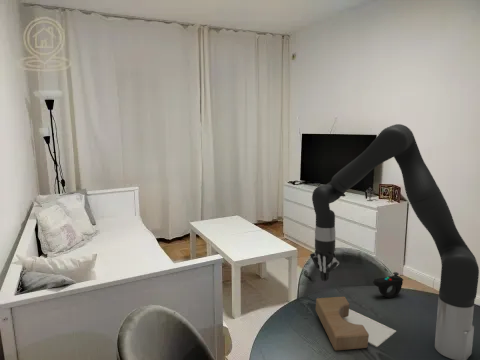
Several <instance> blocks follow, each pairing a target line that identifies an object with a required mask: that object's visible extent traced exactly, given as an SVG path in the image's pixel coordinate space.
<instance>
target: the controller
mask: <svg viewBox="0 0 480 360" xmlns="http://www.w3.org/2000/svg"><path fill="white" fill-rule="evenodd" d="M392 273H393V275H391V276H386V277H379V278H375V279H374V280H373V282H372V283H373V285H374V286H376V287H378V288H377V289H378V291H379V293H380V294H381V295H382V296H384V297H386V298H388V299H389V298H391V299H392V298H395V297H397V296H398V295H399V294H400V292H401V290H402V287H403V283H404V282H403V281H404V279H403V277H401V276H399V275H400V273H399V272H396V271H394V272H392ZM390 287H391V290H390V291H388V289H389V288H390Z"/></svg>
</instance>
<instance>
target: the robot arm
mask: <svg viewBox="0 0 480 360" xmlns="http://www.w3.org/2000/svg"><path fill="white" fill-rule="evenodd" d="M392 158H394V160H395V161H396V163H397V165H398V168H399V170H400V172H401V176H402V181H403V185H404V191H405V194H406V197H407V199H408V202H409V204H410V206H411V208H412V210H413V212H414V214H415V216H416V217H417V219H418V220H419V222H420V223H421V224H422V226H423V227H424V228H425V229H426V231H427V232H428V233H429V234H430V236H431V237H432V239H433V242H434V244H435V247H436V249H437V251H438V254H439V256H440V257H439V258H440V261H441V263H440V264H441V271H440V272H441V273H440V282H439V283H440V284H439V289H438V298H437V299H438V300H437V314H436V324H435V325H436V327H435V336H434V337H435V339H434V349H435V350H436V351H437V352H438V353H439V354H440V355H441V356H443V357H446V358H448V359H451V360H468V359H469V357H471V355H472V354H473V352H472V351H473V344H474V332H475V331H474V330H475V325H473V318H474V309H475V301H476V297H477V294H478V285H479V276H480V270H479V269H480V268H479V264H478V262H477V259H476V257H475V255H474V253H473V252H472V251H471V249H470V248H469V246H468V245H467V243H466V242H465V240H464V239H463V237H462V235H461V234H460V232H459V230H458V229H457V227H456V224H455V221H454V219H453V216H452V213H451V210H450V208H449V207H450V206H449V205H448V203H447V201H446V199H445V197H444V195H443V192H442V190H441V189H440V187H439V185H438V184H437V182H436V180H435V179H434V176H433V175H432V173H431V171H430V170H429V168H428V166H427V164H426V162H425V161H424V159H423V156H422V154H421V152H420V149H419V146H418V144H417V140H416V137H415V135H414V133H413V131H412V130H411V129H410V128H409V127H408V126H406V125H404V124H401V123H399V124H397V123H396V124H393V125H390V126H387V127H386V128H384V129H383V130H381V131H380V132H379V133H378V135H377V136H376V137H375V139H373V141H372V142H371V143H370V144H369V146H367V147H366V148H365V150H363V151H362V153H360V154H359V155H358V156H356V158H354V159H352V160H351V162H349V163H347V164H346V165H345V166H343V167H342V168H341V169H340V170H338V171H337V173H335V174H334V175H333V176H332V177H331V180H330V181H329V182H328V183H326V184H323V185H320V186H317V187H315V188H314V189H313V191H312V194H311V195H312V196H311V200H312V201H311V202H312V205H313V209H314V214H315V228H314V229H315V230H314V252H312V253H310V255H309V256H310V258H311V260H312V262H313V264H314V266H315V268H316V269H318V270H319V271H320V279H321V281H322V282H327V281H329V279H330V278H329V277H330V273H332V272H334V271H335V270H336V268H338V266H339V265H340V264H341V261H340V260H337V258H336V254H335V250H336V227H335V226H336V214H335V211H334V210H332V209H331V206H330V204H331V203H335V202H336V201H337V200H339V199H340V198H341V197H342V196H343V195H344V194H345V193H346V192H347V191H348V190H350V189H351V188H353V187H354V186H355V185H357V184H358V183H360V182H361V180H363V179H364V178H365V177H366V176H367V175H368V174H369V173H371V172H372V170H374V169H375V168H376V167H378V166H379V165H381V164H383V163H384V162H387V161H388V160H390V159H392Z"/></svg>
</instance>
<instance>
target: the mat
mask: <svg viewBox="0 0 480 360" xmlns="http://www.w3.org/2000/svg"><path fill="white" fill-rule="evenodd" d="M343 319H344V320H346V321H348V322H350V323H353V324H358V325H363V326H364V328H365V329H366V331H367V332H368V334H369V338H368V344H370V345H371V346H373V347H376V348H378V347H379V346H380V345H382V344H383V343H384V342H386V341H387V340H389V338H391V337H392V336H393V335H394V334H395V333H397V330H395V329H394V328H391V327H389V326H387V325H384V324H383V323H380V322H378V321H376V320H375V319H372V318H369V317H368V316H365V315H363V314H362V313H358V312H357V311H355V310H352V309H350V308H349V315H348V316H347V317H343Z"/></svg>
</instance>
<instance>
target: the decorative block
mask: <svg viewBox="0 0 480 360" xmlns="http://www.w3.org/2000/svg"><path fill="white" fill-rule="evenodd" d="M349 309H350V303H349V301H348V300H347V298H346V297H345V296H334V297H317V298H316V299H315V312H316V314H317V316H318V319H319V321H320V322H321V324H322V327H323V329H324V331H325V333H326V334H327V337H328V339H329V341H330V343H331V345H332V348H333V350H334V351H344V350H345V351H346V350H347V351H348V350H355V349H356V350H358V349H367V348H368V346H369V345H368V344H369V343H368V338H369V334H368V332H367V331H366V329H365V328H364V326H363V325H358V324H353V323H350V322H348V321H346V320H344V319H343V317H347V316H348V315H349Z"/></svg>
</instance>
